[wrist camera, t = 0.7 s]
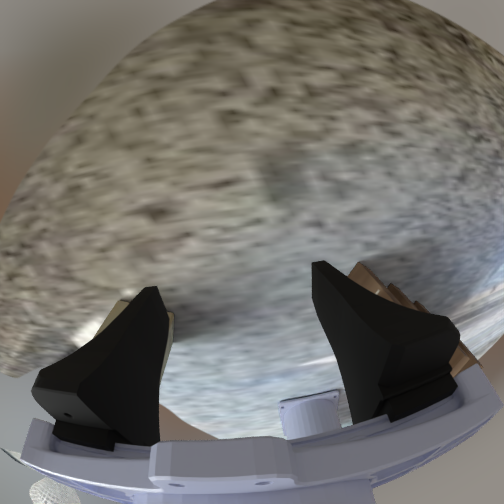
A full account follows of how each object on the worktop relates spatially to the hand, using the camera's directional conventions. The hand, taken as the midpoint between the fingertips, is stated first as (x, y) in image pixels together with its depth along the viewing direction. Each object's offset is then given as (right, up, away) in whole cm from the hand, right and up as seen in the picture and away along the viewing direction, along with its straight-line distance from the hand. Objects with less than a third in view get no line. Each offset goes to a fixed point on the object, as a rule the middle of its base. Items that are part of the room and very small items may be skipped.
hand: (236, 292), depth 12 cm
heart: (-63, -73, +38) cm, 104 cm away
